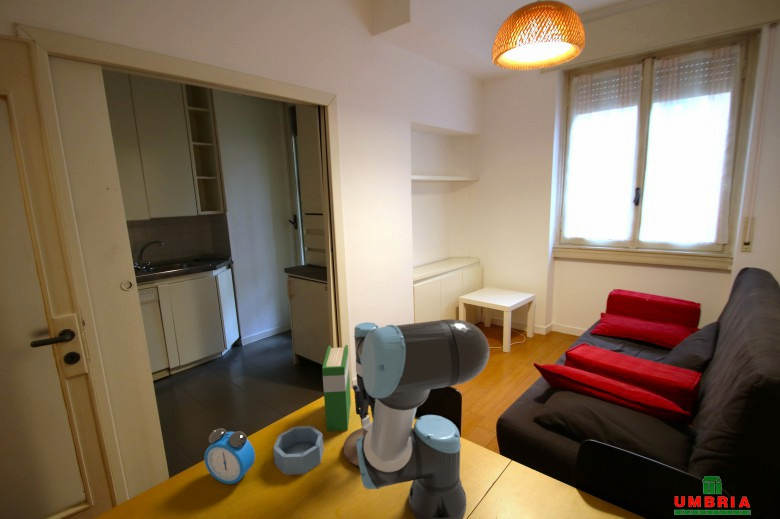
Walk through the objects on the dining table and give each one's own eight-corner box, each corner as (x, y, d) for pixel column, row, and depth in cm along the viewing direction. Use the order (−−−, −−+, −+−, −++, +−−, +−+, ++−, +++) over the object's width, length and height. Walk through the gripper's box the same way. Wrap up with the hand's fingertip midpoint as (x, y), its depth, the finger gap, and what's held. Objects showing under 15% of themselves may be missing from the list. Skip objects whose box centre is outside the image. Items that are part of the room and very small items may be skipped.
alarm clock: (206, 480, 107) (199, 435, 104) (221, 465, 112) (215, 422, 110) (245, 489, 103) (239, 442, 100) (258, 472, 109) (253, 428, 106)
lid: (411, 445, 118) (410, 425, 116) (370, 477, 105) (369, 455, 104) (373, 422, 130) (372, 404, 129) (332, 448, 117) (331, 428, 116)
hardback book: (332, 402, 144) (328, 345, 140) (350, 401, 145) (347, 344, 140) (326, 431, 127) (322, 368, 122) (347, 430, 127) (344, 367, 123)
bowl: (331, 456, 115) (330, 439, 114) (292, 482, 105) (290, 464, 104) (306, 436, 125) (305, 420, 124) (268, 458, 115) (266, 441, 114)
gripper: (396, 376, 109) (398, 445, 114) (359, 359, 121) (362, 422, 125) (378, 386, 104) (381, 458, 108) (341, 367, 116) (345, 433, 120)
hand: (371, 439), depth 117 cm, fingers closed on lid, 4 cm apart
